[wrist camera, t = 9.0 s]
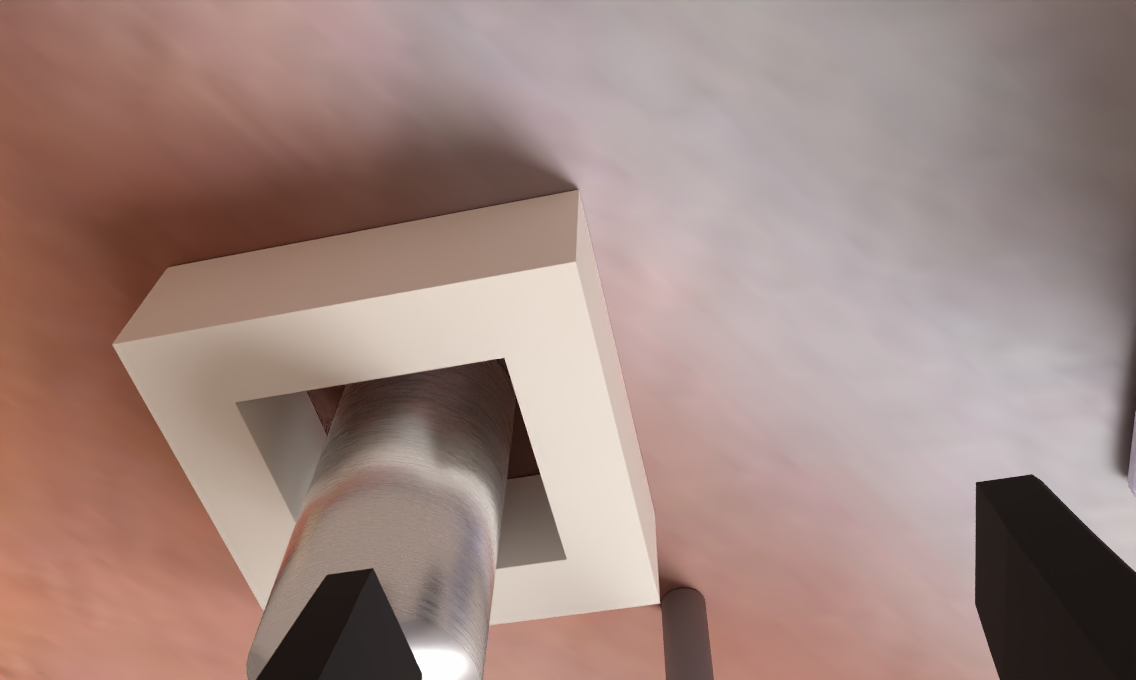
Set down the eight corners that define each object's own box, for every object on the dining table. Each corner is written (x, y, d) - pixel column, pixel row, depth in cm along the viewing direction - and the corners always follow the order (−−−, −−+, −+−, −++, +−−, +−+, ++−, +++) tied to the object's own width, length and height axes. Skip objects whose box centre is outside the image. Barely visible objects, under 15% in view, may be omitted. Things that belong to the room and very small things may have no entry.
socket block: (578, 189, 21) (575, 261, 18) (654, 512, 26) (660, 603, 23) (167, 267, 22) (111, 344, 19) (315, 559, 27) (286, 651, 24)
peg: (536, 446, 24) (511, 737, 18) (384, 477, 25) (306, 767, 19) (484, 313, 22) (433, 585, 16) (319, 351, 23) (204, 627, 16)
